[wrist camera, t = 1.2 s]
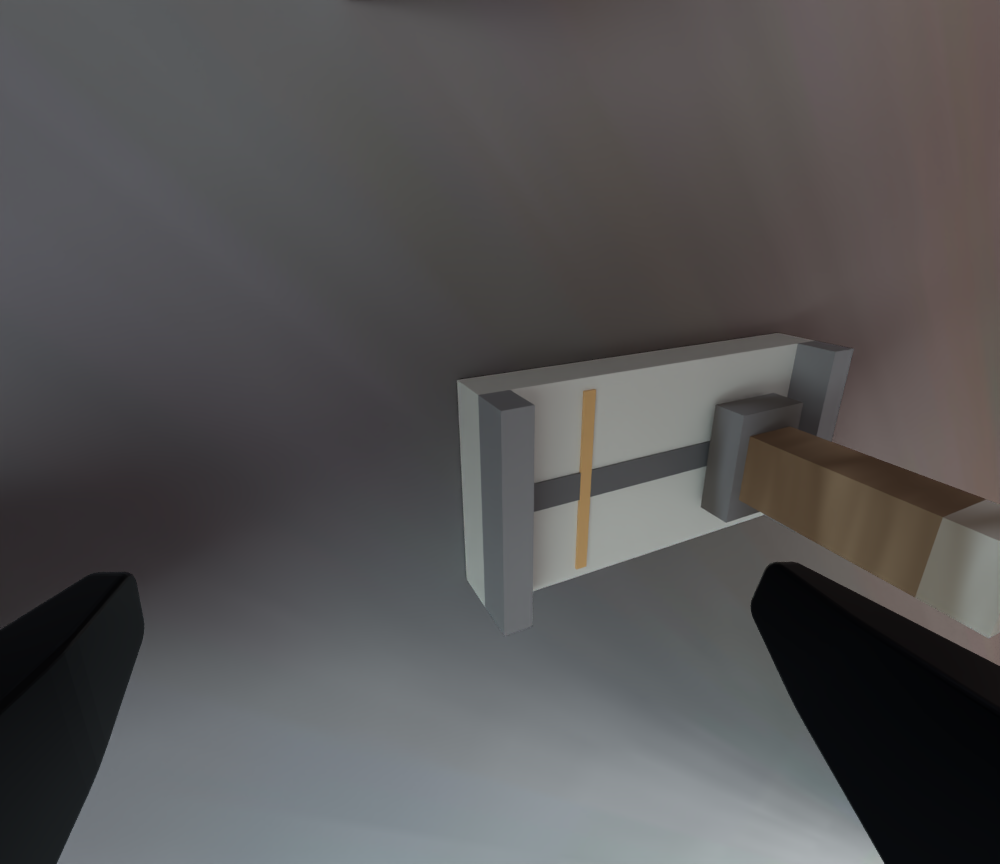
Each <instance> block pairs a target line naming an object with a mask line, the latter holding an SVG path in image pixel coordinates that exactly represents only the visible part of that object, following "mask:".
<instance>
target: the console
mask: <svg viewBox="0 0 1000 864" xmlns="http://www.w3.org/2000/svg"><path fill="white" fill-rule="evenodd" d="M853 350H854V349H853V348H848V347H843V346H839V345H834V344H829V343H824V342H820V341H815V340H810V339H805V338H801V337H796V336H791V335H786V334H781V333H774V334H767V335H760V336H753V337H746V338H740V339H733V340H726V341H719V342H712V343H706V344H699V345H692V346H685V347H678V348H671V349H665V350H658V351H651V352H644V353H637V354H630V355H624V356H617V357H610V358H603V359H596V360H589V361H583V362H576V363H569V364H562V365H555V366H549V367H542V368H535V369H528V370H521V371H514V372H508V373H501V374H494V375H487V376H480V377H473V378H467V379H460V380H457V391H458V411H459V432H460V453H461V474H462V495H463V516H464V537H465V558H466V578H467V581H468V582H469V584H470V585H471V587H472V588H473V590H474V591H475V593H476V594H477V596H478V597H479V599H480V600H481V602H482V603H483V605H484V606H485V608H486V609H487V611H488V612H489V614H490V615H491V617H492V618H493V620H494V621H495V623H496V625H497V626H498V628H499V629H500V631H501V632H502V634H503V635H504V637H505V636H508V635H510V634H513V633H516V632H519V631H521V630H524V629H527V628H530V627H532V626H533V591H536V590H539V589H542V588H545V587H548V586H551V585H554V584H557V583H560V582H563V581H566V580H569V579H572V578H575V577H578V576H581V575H584V574H587V573H590V572H593V571H596V570H599V569H602V568H605V567H608V566H611V565H614V564H617V563H620V562H623V561H626V560H629V559H632V558H635V557H638V556H641V555H644V554H647V553H650V552H653V551H656V550H659V549H662V548H665V547H668V546H671V545H674V544H677V543H680V542H683V541H686V540H690V539H693V538H696V537H699V536H702V535H705V534H708V533H711V532H714V531H717V530H720V529H723V528H726V527H729V526H732V525H735V524H738V523H741V522H744V521H747V520H750V519H753V518H756V517H759V516H762V515H765V514H763V513H761V512H758V513H755V514H752V515H748V516H745V517H742V518H739V519H736V520H733V521H730V522H727V523H726V522H724V521H722V520H721V519H719V518H717V517H716V516H714V515H713V514H711V513H709V512H708V511H706V510H704V509H703V508H701V501H702V494H703V488H704V481H705V474H706V467H707V460H708V453H709V447H710V440H711V433H712V426H713V419H714V412H715V405H717V404H722V403H727V402H732V401H737V400H741V399H746V398H751V397H756V396H761V395H766V394H770V393H776V394H779V395H782V396H785V397H788V398H791V399H794V400H797V401H800V402H803V407H802V412H801V417H800V422H799V426H798V430H801V431H804V432H807V433H809V434H812V435H815V436H817V437H820V438H823V439H825V440H828V441H831V442H832V437H833V433H834V429H835V425H836V421H837V417H838V412H839V408H840V404H841V400H842V396H843V391H844V387H845V383H846V379H847V375H848V371H849V366H850V362H851V358H852V354H853ZM765 516H767V515H765ZM767 517H768V518H770V517H769V516H767ZM770 519H772V518H770ZM772 520H774V519H772ZM774 521H776V520H774ZM776 522H777V523H779V522H778V521H776ZM779 524H781V523H779ZM781 525H783V524H781ZM783 526H785V525H783ZM785 527H786V528H788V529H790V528H789V527H787V526H785ZM790 530H792V529H790ZM792 531H794V530H792ZM794 532H796V531H794Z"/></svg>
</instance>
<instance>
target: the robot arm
mask: <svg viewBox="0 0 1000 864" xmlns="http://www.w3.org/2000/svg"><path fill="white" fill-rule="evenodd" d="M751 613H752V616H753V619H754V621H755V623H756V625H757V627H758V630H759V632H760V634H761V636H762V638H763V640H764V642H765V645H766V647H767V649H768V651H769V653H770V655H771V657H772V660H773V662H774V664H775V666H776V668H777V670H778V672H779V675H780V677H781V679H782V681H783V683H784V685H785V687H786V689H787V692H788V694H789V696H790V698H791V700H792V702H793V704H794V706H795V708H796V710H797V712H798V713H799V715H800V717H801V719H802V721H803V723H804V724H805V726H806V728H807V730H808V731H809V733H810V735H811V737H812V738H813V740H814V742H815V744H816V745H817V747H818V749H819V750H820V752H821V754H822V756H823V757H824V759H825V761H826V763H827V764H828V766H829V768H830V770H831V771H832V773H833V775H834V777H835V778H836V780H837V782H838V784H839V785H840V787H841V789H842V791H843V792H844V794H845V796H846V797H847V799H848V801H849V803H850V804H851V806H852V808H853V810H854V811H855V813H856V815H857V817H858V818H859V820H860V822H861V824H862V825H863V827H864V829H865V831H866V832H867V834H868V836H869V838H870V839H871V841H872V843H873V845H874V846H875V848H876V850H877V851H878V853H879V855H880V857H881V858H882V860H883V862H884V864H1000V666H998V665H996V664H995V663H993V662H991V661H989V660H987V659H985V658H983V657H981V656H979V655H977V654H975V653H973V652H971V651H969V650H967V649H965V648H963V647H961V646H959V645H957V644H955V643H954V642H952V641H950V640H948V639H946V638H944V637H942V636H940V635H938V634H936V633H934V632H932V631H930V630H928V629H926V628H924V627H922V626H920V625H918V624H916V623H914V622H913V621H911V620H909V619H907V618H905V617H903V616H901V615H899V614H897V613H895V612H893V611H891V610H889V609H887V608H885V607H883V606H881V605H879V604H877V603H875V602H873V601H871V600H870V599H868V598H866V597H864V596H862V595H860V594H858V593H856V592H854V591H852V590H850V589H848V588H846V587H844V586H842V585H840V584H838V583H836V582H834V581H832V580H830V579H829V578H827V577H825V576H823V575H821V574H819V573H817V572H815V571H813V570H811V569H809V568H807V567H805V566H803V565H801V564H799V563H796V562H773V563H770V564H769V565H768V566H767V567H766V569H765V570H764V573H763V575H762V577H761V579H760V582H759V584H758V586H757V589H756V591H755V593H754V595H753V598H752V600H751ZM143 634H144V619H143V614H142V609H141V604H140V599H139V593H138V588H137V583H136V580H135V578H134V576H133V575H132V574H130V573H128V572H98V573H93V574H90V575H88V576H86V577H84V578H83V579H81V580H79V581H78V582H76V583H75V584H73V585H71V586H70V587H68V588H67V589H65V590H63V591H62V592H60V593H59V594H57V595H55V596H54V597H52V598H51V599H49V600H47V601H46V602H44V603H43V604H41V605H39V606H38V607H36V608H35V609H33V610H31V611H30V612H28V613H27V614H25V615H23V616H22V617H20V618H18V619H17V620H15V621H14V622H12V623H10V624H9V625H7V626H6V627H4V628H2V629H1V630H0V864H57V862H58V860H59V857H60V855H61V853H62V851H63V849H64V846H65V844H66V842H67V840H68V838H69V835H70V833H71V831H72V829H73V827H74V824H75V822H76V820H77V818H78V816H79V813H80V811H81V809H82V807H83V805H84V802H85V800H86V798H87V796H88V794H89V791H90V789H91V787H92V784H93V782H94V779H95V777H96V775H97V772H98V770H99V767H100V765H101V762H102V759H103V756H104V753H105V751H106V748H107V745H108V742H109V739H110V736H111V733H112V730H113V727H114V724H115V721H116V718H117V715H118V712H119V709H120V706H121V703H122V700H123V697H124V694H125V691H126V688H127V685H128V682H129V679H130V676H131V673H132V670H133V667H134V664H135V661H136V658H137V655H138V652H139V649H140V646H141V643H142V639H143Z"/></svg>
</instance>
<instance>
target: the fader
mask: <svg viewBox="0 0 1000 864" xmlns="http://www.w3.org/2000/svg"><path fill="white" fill-rule="evenodd" d="M802 407H803V402H800V401H797V400H794V399H791V398H788V397H785V396H782V395H779V394H776V393H770V394H766V395H761V396H756V397H751V398H746V399H741V400H737V401H732V402H727V403H722V404H717V405H715V412H714V419H713V426H712V433H711V440H710V447H709V453H708V460H707V467H706V474H705V481H704V488H703V494H702V501H701V508H703V509H704V510H706V511H708V512H709V513H711V514H713V515H714V516H716V517H717V518H719V519H721V520H722V521H724V522H726V523H727V522H730V521H733V520H736V519H739V518H742V517H745V516H748V515H752V514H755V513H758V512H761V513H763V514H765V515H767V516H769V517H770V518H772V519H774V520H776V521H778V522H779V523H781V524H783V525H785V526H787V527H789V528H790V529H792V530H794V531H796V532H798V533H799V534H801V535H803V536H805V537H807V538H808V539H810V540H812V541H814V542H816V543H817V544H819V545H821V546H823V547H825V548H826V549H828V550H830V551H832V552H834V553H835V554H837V555H839V556H841V557H843V558H845V559H846V560H848V561H850V562H852V563H854V564H855V565H857V566H859V567H861V568H863V569H864V570H866V571H868V572H870V573H872V574H873V575H875V576H877V577H879V578H881V579H882V580H884V581H886V582H888V583H890V584H891V585H893V586H895V587H897V588H899V589H901V590H902V591H904V592H906V593H908V594H910V595H911V596H913V597H915V598H917V599H919V600H920V601H922V602H924V603H926V604H928V605H929V606H931V607H933V608H935V609H937V610H938V611H940V612H942V613H944V614H946V615H947V616H949V617H951V618H953V619H955V620H957V621H958V622H960V623H962V624H964V625H966V626H967V627H969V628H971V629H973V630H975V631H976V632H978V633H980V634H982V635H984V636H985V637H987V638H991V637H992V636H994V635H996V634H998V633H999V632H1000V504H997V503H995V502H992V501H989V500H987V499H984V498H981V497H979V496H976V495H973V494H971V493H968V492H965V491H962V490H960V489H957V488H954V487H952V486H949V485H946V484H944V483H941V482H938V481H936V480H933V479H930V478H927V477H925V476H922V475H919V474H917V473H914V472H911V471H909V470H906V469H903V468H901V467H898V466H895V465H893V464H890V463H887V462H884V461H882V460H879V459H876V458H874V457H871V456H868V455H866V454H863V453H860V452H858V451H855V450H852V449H850V448H847V447H844V446H841V445H839V444H836V443H833V442H831V441H828V440H825V439H823V438H820V437H817V436H815V435H812V434H809V433H807V432H804V431H801V430H798V426H799V422H800V417H801V412H802Z"/></svg>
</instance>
